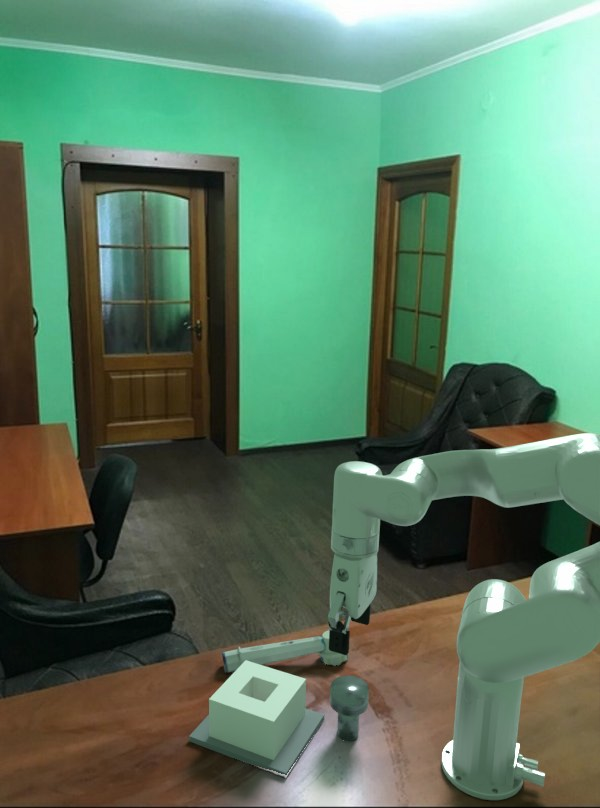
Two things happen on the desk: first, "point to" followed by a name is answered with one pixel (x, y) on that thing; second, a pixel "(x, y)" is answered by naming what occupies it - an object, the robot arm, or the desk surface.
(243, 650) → the white flashlight
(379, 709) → the desk surface
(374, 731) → the desk surface
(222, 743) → the hitch block
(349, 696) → the steel pin
